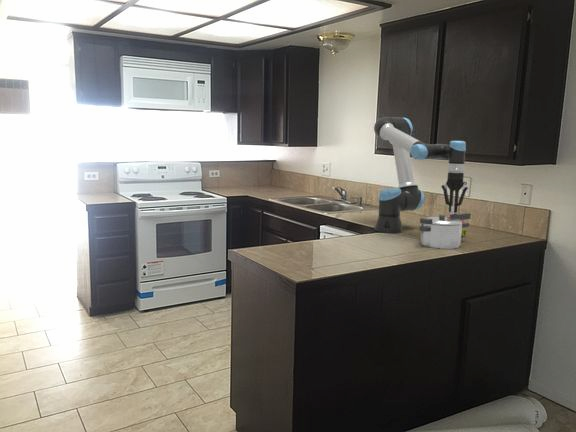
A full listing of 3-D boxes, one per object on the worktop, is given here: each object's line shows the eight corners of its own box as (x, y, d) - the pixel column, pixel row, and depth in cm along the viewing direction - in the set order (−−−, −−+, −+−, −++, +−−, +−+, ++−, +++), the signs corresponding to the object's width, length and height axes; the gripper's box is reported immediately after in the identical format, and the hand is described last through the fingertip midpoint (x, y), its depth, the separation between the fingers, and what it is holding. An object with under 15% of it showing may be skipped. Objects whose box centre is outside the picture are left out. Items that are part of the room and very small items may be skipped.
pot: (408, 243, 246) (410, 221, 244) (452, 238, 259) (454, 217, 257) (434, 250, 230) (436, 227, 229) (480, 245, 243) (481, 222, 242)
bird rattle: (449, 240, 264) (465, 235, 258) (443, 220, 265) (458, 215, 259) (454, 238, 269) (470, 234, 263) (447, 219, 270) (463, 214, 264)
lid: (438, 227, 228) (438, 219, 227) (409, 221, 243) (409, 214, 243) (483, 221, 244) (484, 214, 243) (453, 216, 259) (454, 209, 259)
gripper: (440, 171, 248) (437, 218, 252) (467, 173, 242) (464, 221, 246) (444, 170, 255) (441, 216, 259) (471, 172, 248) (467, 219, 252)
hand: (452, 218), depth 252 cm, fingers closed
